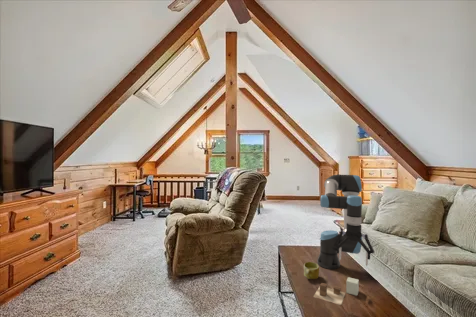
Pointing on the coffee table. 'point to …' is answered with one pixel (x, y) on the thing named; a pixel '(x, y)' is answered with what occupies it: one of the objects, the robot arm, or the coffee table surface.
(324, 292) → the tall post
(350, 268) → the coffee table surface
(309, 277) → the mug
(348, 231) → the robot arm
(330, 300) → the board
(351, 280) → the pale green block
